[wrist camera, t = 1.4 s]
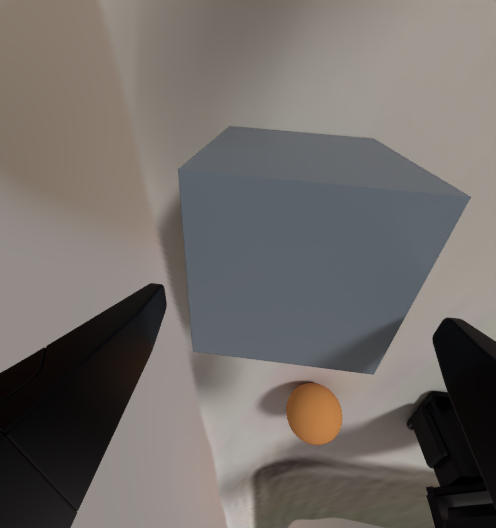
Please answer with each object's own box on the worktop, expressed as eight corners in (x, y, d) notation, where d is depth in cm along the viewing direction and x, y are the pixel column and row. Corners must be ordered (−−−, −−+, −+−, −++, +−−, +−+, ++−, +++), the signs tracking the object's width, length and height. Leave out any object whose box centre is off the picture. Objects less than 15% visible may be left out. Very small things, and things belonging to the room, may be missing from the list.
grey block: (373, 138, 14) (470, 197, 7) (337, 260, 19) (373, 374, 11) (229, 126, 15) (178, 169, 7) (226, 248, 19) (192, 351, 12)
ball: (342, 375, 25) (354, 432, 21) (330, 404, 28) (338, 458, 24) (290, 368, 26) (291, 423, 22) (282, 397, 29) (283, 450, 24)
